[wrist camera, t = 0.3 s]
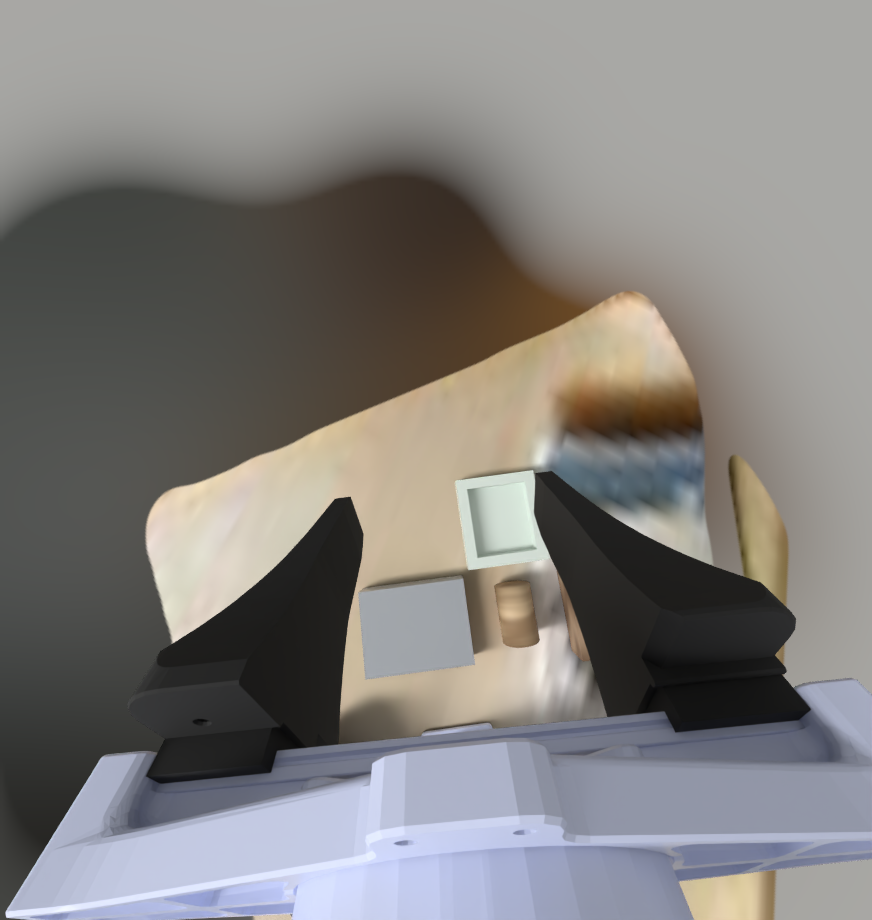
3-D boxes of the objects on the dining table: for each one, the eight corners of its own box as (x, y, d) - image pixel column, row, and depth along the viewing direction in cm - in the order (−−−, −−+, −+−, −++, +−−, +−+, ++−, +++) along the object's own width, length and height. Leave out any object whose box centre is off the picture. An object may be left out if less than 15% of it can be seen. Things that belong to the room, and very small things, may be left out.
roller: (533, 631, 39) (544, 644, 35) (500, 636, 39) (507, 649, 35) (524, 579, 40) (533, 585, 36) (491, 583, 40) (497, 590, 36)
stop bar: (589, 648, 39) (601, 658, 36) (572, 650, 39) (583, 661, 36) (568, 542, 41) (578, 544, 38) (552, 545, 41) (560, 547, 38)
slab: (472, 653, 39) (475, 664, 36) (371, 667, 39) (365, 679, 36) (461, 574, 41) (463, 578, 38) (364, 587, 41) (358, 592, 38)
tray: (543, 556, 40) (549, 558, 38) (467, 567, 40) (468, 570, 38) (527, 472, 42) (533, 470, 40) (454, 482, 42) (455, 480, 40)
